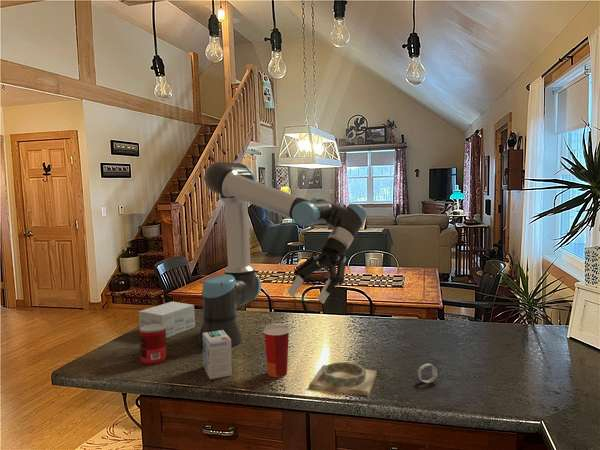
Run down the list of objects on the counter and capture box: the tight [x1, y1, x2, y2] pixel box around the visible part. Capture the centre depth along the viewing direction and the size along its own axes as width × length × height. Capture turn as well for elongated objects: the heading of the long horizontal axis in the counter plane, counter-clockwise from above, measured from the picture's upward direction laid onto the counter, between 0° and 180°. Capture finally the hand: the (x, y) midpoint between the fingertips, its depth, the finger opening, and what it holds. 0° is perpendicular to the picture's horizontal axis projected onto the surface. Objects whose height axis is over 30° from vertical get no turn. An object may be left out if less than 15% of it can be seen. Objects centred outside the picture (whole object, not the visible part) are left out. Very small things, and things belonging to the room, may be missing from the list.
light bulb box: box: [202, 330, 233, 380], centre depth 132 cm, size 11×7×11 cm, turn 23°
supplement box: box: [138, 301, 196, 339], centre depth 173 cm, size 17×13×9 cm
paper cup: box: [262, 323, 291, 378], centre depth 129 cm, size 8×8×14 cm
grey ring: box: [417, 363, 438, 384], centre depth 122 cm, size 3×5×5 cm, turn 102°
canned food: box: [139, 324, 167, 366], centre depth 141 cm, size 8×8×11 cm
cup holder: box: [308, 361, 378, 397], centre depth 123 cm, size 16×14×3 cm
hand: (304, 297), depth 135 cm, fingers open, 13 cm apart
